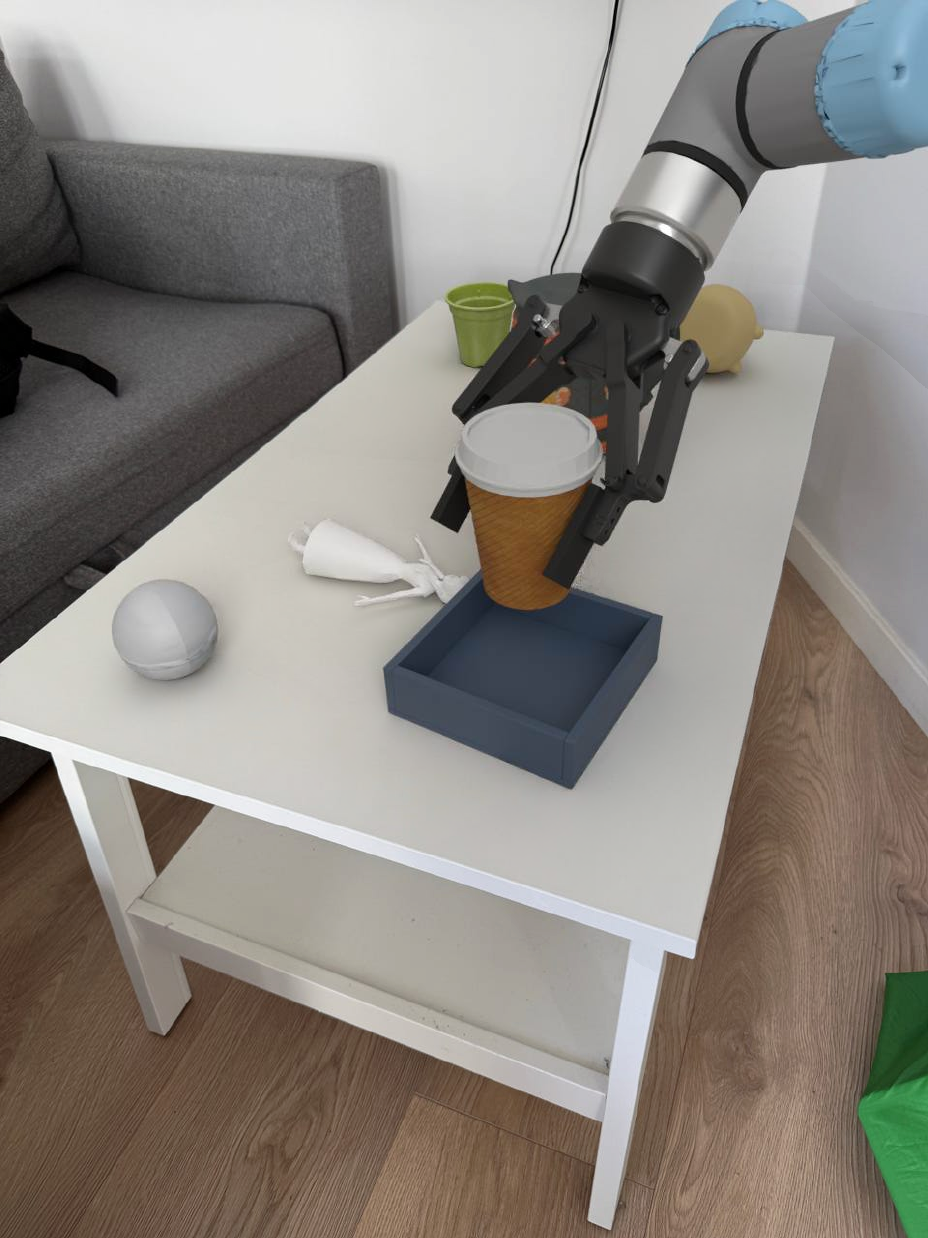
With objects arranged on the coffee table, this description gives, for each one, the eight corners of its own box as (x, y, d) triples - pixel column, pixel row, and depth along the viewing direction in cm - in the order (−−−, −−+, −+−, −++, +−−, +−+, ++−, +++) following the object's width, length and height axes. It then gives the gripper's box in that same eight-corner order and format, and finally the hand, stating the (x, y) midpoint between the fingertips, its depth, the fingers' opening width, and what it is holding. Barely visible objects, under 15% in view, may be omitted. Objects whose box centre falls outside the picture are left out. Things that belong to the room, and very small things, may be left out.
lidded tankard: (678, 416, 107) (701, 238, 94) (656, 477, 96) (678, 286, 83) (522, 397, 112) (523, 226, 99) (485, 453, 101) (481, 270, 89)
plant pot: (481, 380, 116) (479, 313, 111) (433, 360, 122) (429, 294, 116) (533, 359, 121) (534, 293, 116) (485, 340, 127) (483, 276, 121)
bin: (657, 660, 74) (663, 615, 71) (571, 790, 63) (574, 744, 61) (489, 603, 80) (489, 560, 77) (387, 712, 70) (382, 667, 67)
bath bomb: (244, 645, 77) (225, 567, 72) (194, 709, 71) (170, 630, 66) (161, 629, 79) (137, 552, 74) (107, 690, 73) (77, 612, 68)
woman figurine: (328, 487, 88) (500, 538, 82) (331, 525, 91) (497, 577, 85) (257, 551, 80) (442, 612, 74) (263, 590, 82) (442, 652, 77)
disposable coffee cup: (590, 630, 61) (601, 473, 54) (451, 620, 63) (442, 466, 55) (597, 549, 69) (607, 401, 61) (471, 542, 70) (466, 396, 62)
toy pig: (690, 380, 122) (636, 331, 118) (760, 310, 117) (705, 256, 113) (711, 411, 114) (653, 359, 110) (786, 337, 109) (729, 280, 105)
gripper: (825, 316, 57) (654, 634, 58) (551, 248, 69) (414, 512, 70) (800, 249, 51) (609, 607, 52) (504, 188, 63) (355, 479, 64)
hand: (497, 552), depth 61 cm, fingers closed on disposable coffee cup, 9 cm apart
